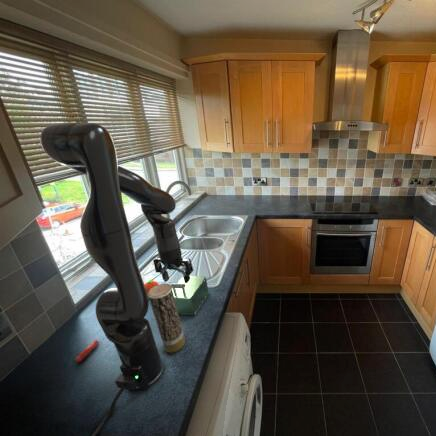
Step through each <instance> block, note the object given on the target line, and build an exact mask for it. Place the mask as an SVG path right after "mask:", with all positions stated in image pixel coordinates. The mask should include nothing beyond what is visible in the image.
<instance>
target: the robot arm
mask: <svg viewBox="0 0 436 436" xmlns="http://www.w3.org/2000/svg"><path fill="white" fill-rule="evenodd" d="M40 145H41V147H42V150H43V151H44V152H45V153H46V155H47V156H48V157H49V158H50V159H52V160H53V161H55V162H56V163H58V164H60V165H62V166H64V167H67V168H68V169H71V170H73V171H76V172H78V173H81V174H83V175H86V176H87V177H88V181H89V196H88V200H87V203H86V204H85V208H84V209H83V212H82V215H81V218H80V222H79V225H80V226H79V228H80V232H81V233H80V234H81V236H82V239H83V242H84V243H83V244H84V246H85V249H86V251H87V253H88V255H89V256H90V258H91V259H92V260H93V261H94V263H96V264H97V265H98V266H99V267H100V269H102V270H103V271H104V272H105V273H106V274H107V276H109V277H110V279H111V280H112V281H113V283H114V285H115V287H111V288H108V289H105V291H103V292H102V293H101V294H100V296H99V297H98V298H97V301H96V304H95V316H96V319H97V322H98V324H99V326H100V328H101V330H102V331H103V333H104V335H105V337H106V338H107V340H108V341H110V342H111V343H113V345H114V348H115V350H116V352H117V354H118V357H119V360H120V362H121V365H120V366H119V369H120V372H121V373H120V374H119V375H118V376H117V378H116V379H115V381H114V382H115V384H116V387H117V389H119V390H118V392H117V394H116V395H115V396H114V398H113V400H112V402H111V403H110V407H109V409H108V411H107V412H106V414H105V416H104V417H103V419H102V420H101V422H100V424H99V425H98V426H97V428H96V429H95V430H94V432H93V433H92V434H91V436H97V435H98V434H99V432H100V431H101V430H102V429H103V427H104V425H105V423H107V420H108V419H109V417H110V416H111V414H112V412H113V411H114V409H115V406H116V403H117V402H118V400H119V398H120V396H122V393H123V392H124V390H130V391H131V390H132V391H136V390H140V391H141V390H142V391H147V390H148V389H149V387H150V386H152V385H154V384H155V383H156V382H157V381H158V380H159V379H160V378H161V376H162V375H163V373H164V368H165V367H164V363H163V361H162V358H161V355H160V352H159V348H158V346H157V343H156V340H155V337H154V334H153V330H152V328H151V327H152V326H151V324H150V322H149V320H148V319H147V318H145V317H146V315H147V314H148V310H149V307H150V306H149V305H150V300H149V296H148V293H147V290H146V287H145V285H144V284H145V282H144V280H143V277H142V274H141V271H140V268H139V264H138V261H137V257H136V254H135V250H134V245H133V240H132V234H131V231H130V226H129V222H128V219H127V215H126V211H125V206H124V205H125V204H124V201H123V196H125V197H127V198H128V199H130V200H132V201H133V202H135V203H137V204H139V206H140V209H141V212H142V213H143V215H144V217H145V218H146V221H147V222H148V223H149V225H150V226H151V228H152V231H153V235H154V239H155V245H156V249H157V253H158V256H156V257H155V258H154V259H153V266H154V270H155V273H156V274H158V273H159V274H160V275H161V277H162V280H163V281H164V283H168V281H169V280H170V275H169V272H168V270H169V271H171V270H173V271H177V272H178V273H180V274H181V275H183V276H182V277H184V282H185V283H188V281H189V280H190V276H191V274H192V273H193V272H194V267H193V263H192V259H191V258H189V257H188V258H187V259H183V257H182V254H183V253H182V248H181V244H180V240H179V237H178V234H177V231H176V225H175V222H174V220H173V219H172V218H169V217H166V216H163V215H169V214H171V213H173V212H174V210H175V209H176V206H177V205H176V200H175V198H174V197H173V195H171V194H170V193H169V192H168V191H165V190H163V189H161V188H159V187H157V186H154V185H152V184H151V183H150V182H149V181H148V180H147V179H145V178H144V177H143V176H142V175H140V174H139V173H137V172H134V171H132V170H131V169H128V168H126V167H123V166H122V165H118V156H117V150H116V146H115V143H114V140H113V138H112V135H111V133H110V132H109V131H108V130H107V129H106V128H105V127H104V126H103V125H101V124H98V123H94V122H60V123H59V122H58V123H52V124H49V125H47V126H46V127H44V128H43V129H42V131H41V133H40ZM122 194H123V196H122Z"/></svg>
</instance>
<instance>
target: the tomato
mask: <svg viewBox="0 0 436 436" xmlns="http://www.w3.org/2000/svg"><path fill="white" fill-rule="evenodd" d="M144 285H145V287H146V290H147V293H148V292H149V290H150V289H151V288H153V287H154V286H156V285H159V283H158V282H157V281H155V280H154V279H150V280H148V281H146V282H144Z"/></svg>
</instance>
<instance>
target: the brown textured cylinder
mask: <svg viewBox="0 0 436 436" xmlns="http://www.w3.org/2000/svg"><path fill="white" fill-rule="evenodd" d="M158 284H159V283H158ZM172 289H173V288H172V287H171V283H170V284H169V283H160V284H159V285H156V286H154V287H153V288H151V289H150V290H149V292H148V299H149V304H150V306H151V309H152V312H153V317H154V319H155V322H156V326H157V329H158V332H159V336H160V339H161V341H162V345H163V348H164V350H165V352H166V353H170V354H172V353H176V352H179V351H180V350H181V349H182V348H183V347H184V345H185V343H186V339H185V335H184V331H183V326H182V323H181V320H180V314H178V310H177V307H176V303H175V299H174V295H173V291H172Z"/></svg>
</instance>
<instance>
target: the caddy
mask: <svg viewBox="0 0 436 436" xmlns="http://www.w3.org/2000/svg"><path fill="white" fill-rule="evenodd" d="M209 295H210V292H209V287H208V281H207V278H206V279H205V280H204V282H203V283H202V285H201V286H200V287H199V289H198V290H197V292H196V293H195V294H194V296H193V297H192V299H191V300H180V299H175V303H176V307H177V310H178V314H179V315H183V316H185V315H186V316H194V317H195V316H196V315H197V314H198V312H199V310H200V308H201V307H202V305H203V304H204V302H205V300H206V299H207V297H208V296H209Z"/></svg>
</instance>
